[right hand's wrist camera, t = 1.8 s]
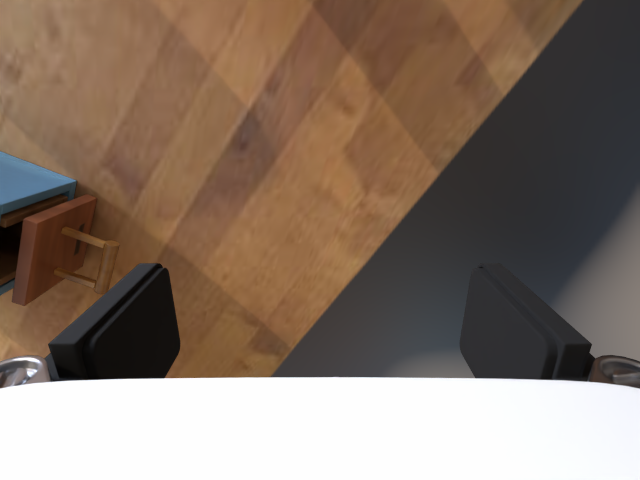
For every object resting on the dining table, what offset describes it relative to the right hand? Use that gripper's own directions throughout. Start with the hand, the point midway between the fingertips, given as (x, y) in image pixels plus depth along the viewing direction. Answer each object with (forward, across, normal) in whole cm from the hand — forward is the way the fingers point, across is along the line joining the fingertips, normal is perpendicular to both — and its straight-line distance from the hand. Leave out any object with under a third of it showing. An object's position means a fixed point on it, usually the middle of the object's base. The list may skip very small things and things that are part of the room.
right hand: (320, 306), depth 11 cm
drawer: (+29, +29, +6) cm, 41 cm away
